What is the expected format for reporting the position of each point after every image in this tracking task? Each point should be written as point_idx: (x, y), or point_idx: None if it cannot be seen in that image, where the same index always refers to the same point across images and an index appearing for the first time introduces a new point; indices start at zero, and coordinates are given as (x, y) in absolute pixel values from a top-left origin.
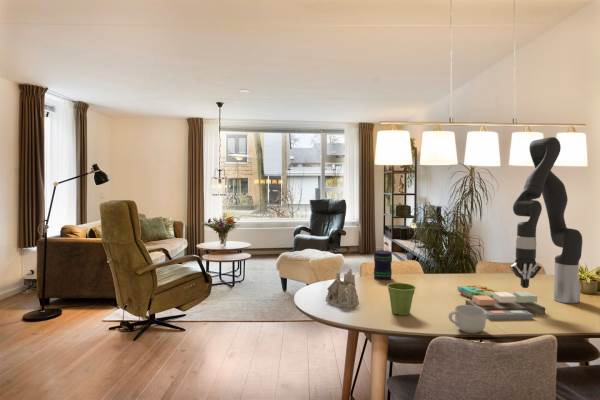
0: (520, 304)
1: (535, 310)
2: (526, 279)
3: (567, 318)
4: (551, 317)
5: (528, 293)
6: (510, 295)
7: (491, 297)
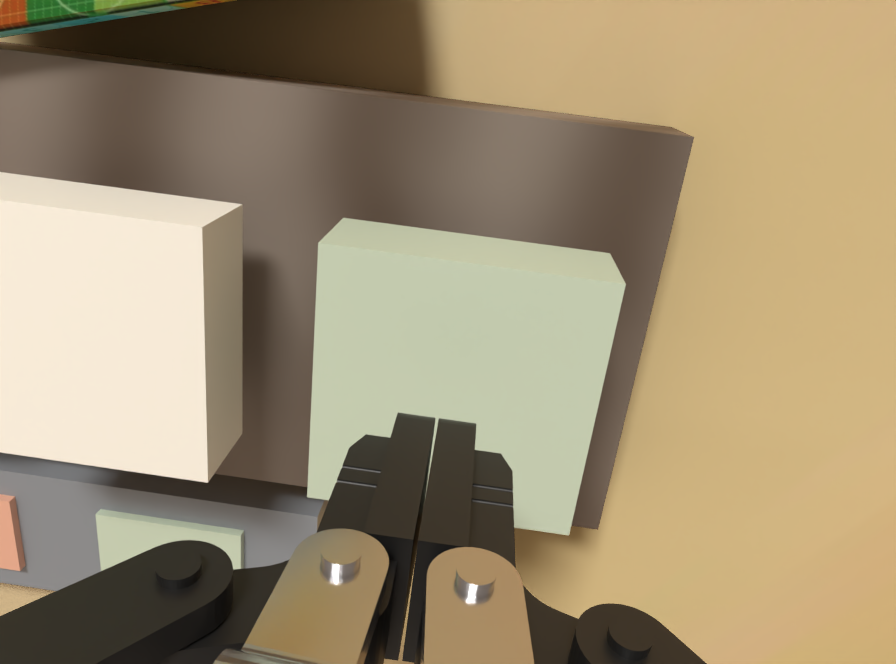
0: None
1: None
2: (411, 651)
3: (699, 633)
4: (559, 582)
5: (546, 375)
6: (140, 423)
7: (32, 25)
